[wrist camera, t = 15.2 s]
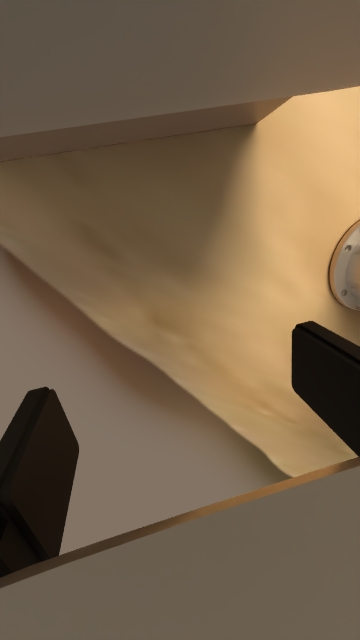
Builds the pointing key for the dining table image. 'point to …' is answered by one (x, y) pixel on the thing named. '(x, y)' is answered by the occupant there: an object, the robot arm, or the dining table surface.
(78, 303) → the dining table surface
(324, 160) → the dining table surface
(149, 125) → the grey sloped stand
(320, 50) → the cover
